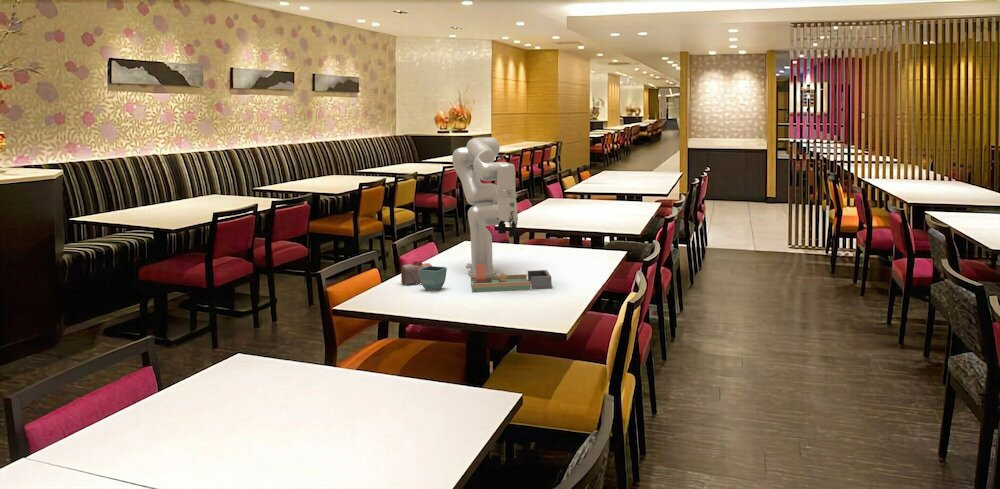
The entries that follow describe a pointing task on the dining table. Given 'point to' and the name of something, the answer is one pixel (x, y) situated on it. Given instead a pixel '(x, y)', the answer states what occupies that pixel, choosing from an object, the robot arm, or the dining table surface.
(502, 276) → the ball
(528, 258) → the dining table surface
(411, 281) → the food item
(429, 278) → the flower pot
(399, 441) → the dining table surface
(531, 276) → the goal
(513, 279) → the pitch
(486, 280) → the silver-capped pink block
